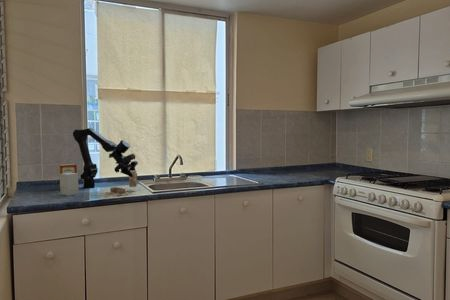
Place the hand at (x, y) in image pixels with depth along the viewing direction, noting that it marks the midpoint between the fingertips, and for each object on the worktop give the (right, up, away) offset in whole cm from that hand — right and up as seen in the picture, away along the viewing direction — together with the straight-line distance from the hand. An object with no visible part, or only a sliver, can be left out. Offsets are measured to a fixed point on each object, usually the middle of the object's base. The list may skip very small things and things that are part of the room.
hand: (134, 176), depth 216 cm
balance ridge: (-8, -10, -10) cm, 16 cm away
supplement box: (-36, -10, -11) cm, 39 cm away
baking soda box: (-45, -9, +7) cm, 46 cm away
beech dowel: (-1, -7, +1) cm, 7 cm away
